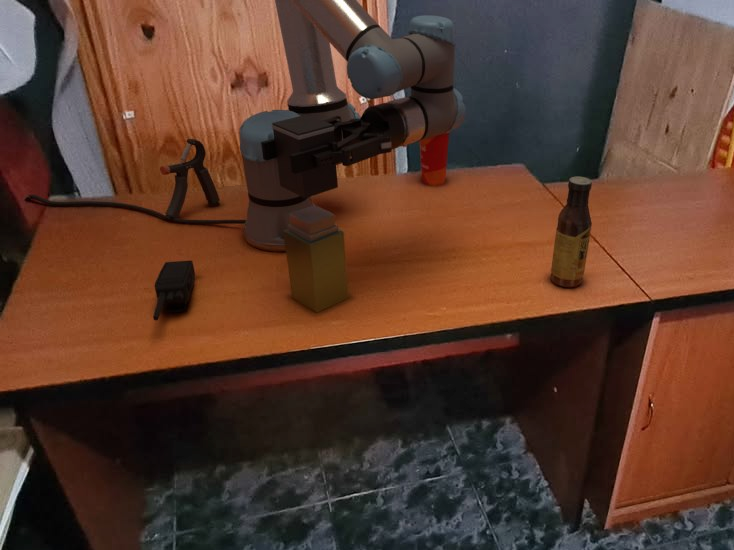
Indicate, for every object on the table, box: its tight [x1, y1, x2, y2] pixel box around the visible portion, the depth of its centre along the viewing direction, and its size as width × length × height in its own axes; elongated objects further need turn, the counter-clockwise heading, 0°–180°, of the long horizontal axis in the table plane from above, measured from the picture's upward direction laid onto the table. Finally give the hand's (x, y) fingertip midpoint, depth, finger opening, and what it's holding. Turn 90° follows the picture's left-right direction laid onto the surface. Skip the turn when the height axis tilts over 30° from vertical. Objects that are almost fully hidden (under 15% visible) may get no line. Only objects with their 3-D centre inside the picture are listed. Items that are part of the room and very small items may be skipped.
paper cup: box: [419, 131, 451, 187], centre depth 162 cm, size 8×8×14 cm
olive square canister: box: [283, 204, 349, 314], centre depth 117 cm, size 7×7×16 cm
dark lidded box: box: [272, 115, 339, 198], centre depth 106 cm, size 6×6×10 cm
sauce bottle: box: [550, 175, 593, 288], centre depth 125 cm, size 7×6×20 cm
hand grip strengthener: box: [159, 138, 221, 220], centre depth 141 cm, size 2×12×15 cm, turn 146°
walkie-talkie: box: [152, 259, 196, 322], centre depth 115 cm, size 6×6×20 cm
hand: (277, 157), depth 103 cm, fingers closed on dark lidded box, 6 cm apart
